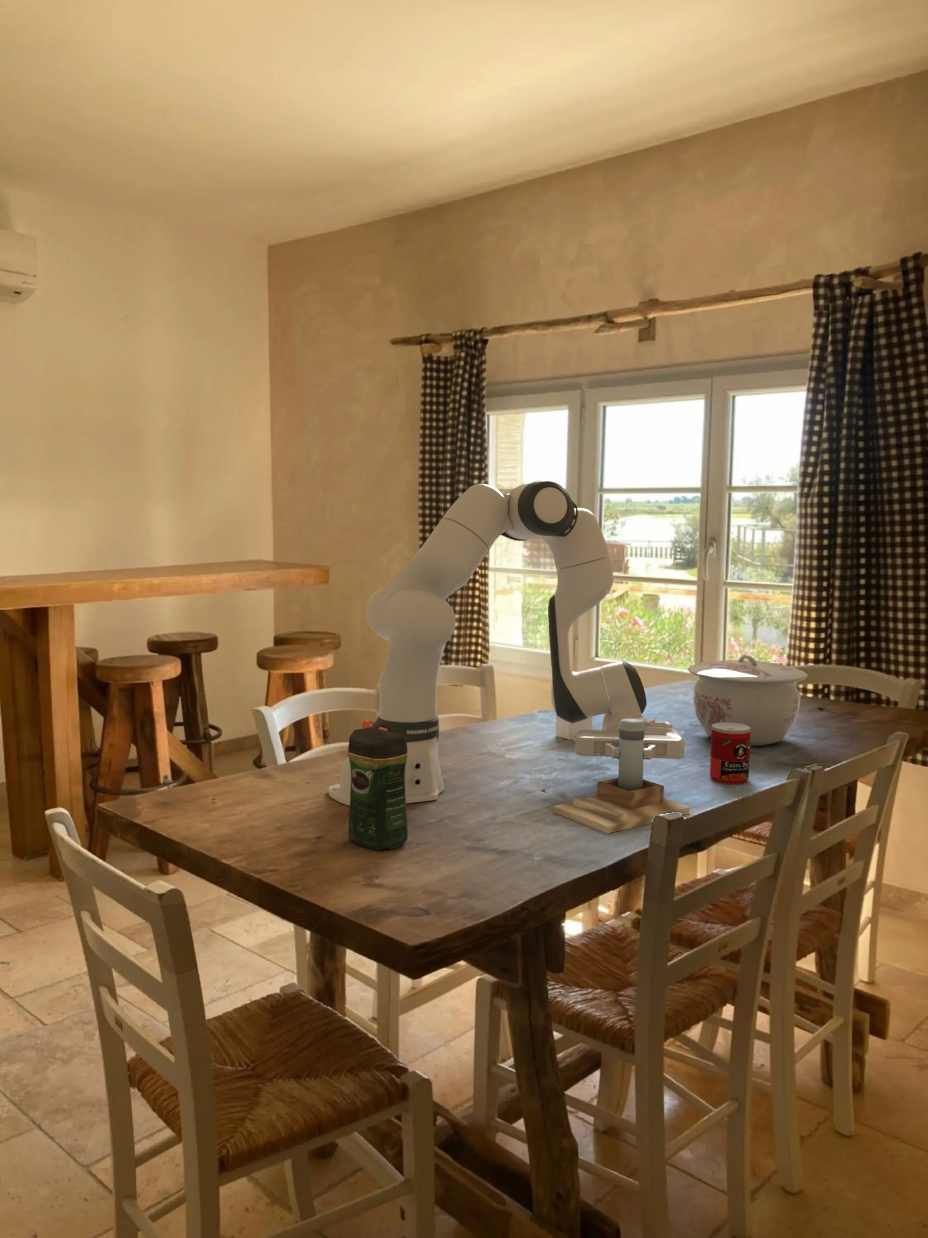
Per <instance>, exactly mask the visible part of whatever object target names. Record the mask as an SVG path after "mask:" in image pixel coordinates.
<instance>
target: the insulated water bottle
mask: <svg viewBox="0 0 928 1238" xmlns="http://www.w3.org/2000/svg"><path fill="white" fill-rule="evenodd" d="M644 730H645V729H644V721H643V720H639V719H622V720H620V728H619V749H620V753H619V755H620V758H619V759H618V777H617V778H618V787H620V788H623V789H626V790H629V791H633V790H638V789H642V788H643V780H644V759H643V755H644V754H643V750H644Z"/></svg>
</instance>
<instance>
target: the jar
mask: <svg viewBox="0 0 928 1238" xmlns="http://www.w3.org/2000/svg"><path fill="white" fill-rule="evenodd" d="M581 730H593V717H588V719H585V720H582V721H579V722H576V723H570V722H568V721H565V720H563V719H562V718H560V717H558V716H557V715H555V737H557V738H561V739H564V740H568V741H574V740H573V737H574V735H577V733H578V732H579V731H581Z"/></svg>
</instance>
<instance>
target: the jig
mask: <svg viewBox="0 0 928 1238" xmlns="http://www.w3.org/2000/svg"><path fill="white" fill-rule="evenodd" d="M664 791H665V786H664V785H662V784H659V783H656V782H653V781H649V780H646V779H643V788H642V789H638V790H633V791H629V790H626V789H623V788H620V787H618V777H617V778H612V779H607V780H602V781H597V782H596V796H593V797H579V798H574V799H573V800H572V801H570V802H566V803H561V804H556V805H553V813H555V814H557V815H560V816H562V817H564V818H566V819H570V820H572V821H574V822H578V823H580V824H582V825H585V826H588V827H589V828H592V829H595V830H597V831H600V830H601V831H600V832H602V831H603V832H602V833H605V832H606V833H605V834H607V833H610V834H612V833H611V832H614V833H617V832H616V831H618V832H621V830H622V831H626V830H628V829H629V830H630V829H634V828H637V827H640V826H641V825H642V826H645V825H648V824H649V823H650V824H653V823H652V820H653V817H654V816H656V815H660V814H666V813H672V812H679V813H682V814H683V815H682V816H685V815H689V814H690V812H691V811H690V810H691V807H690V806H688V805H685V804H682V803H679V802H676V801H673V800H671V799H666V798H664V794H665V792H664ZM647 823H648V824H647ZM633 827H634V828H633Z"/></svg>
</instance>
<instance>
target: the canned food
mask: <svg viewBox="0 0 928 1238" xmlns="http://www.w3.org/2000/svg"><path fill="white" fill-rule="evenodd" d="M750 737H751V730H750V727H749V726H747V725H744V724H739V723H731V722H720V723H715V724H713V725H712V728H711V737H710V759H709V761H710V762H709V776H710V780H712V781H714V782H715V783H719V782H720V783H719V784H723V783H726V784H725V785H742V784H745V783H747V782H748V780H749V775H750V774H749V773H750V754H751V746H750Z"/></svg>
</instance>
